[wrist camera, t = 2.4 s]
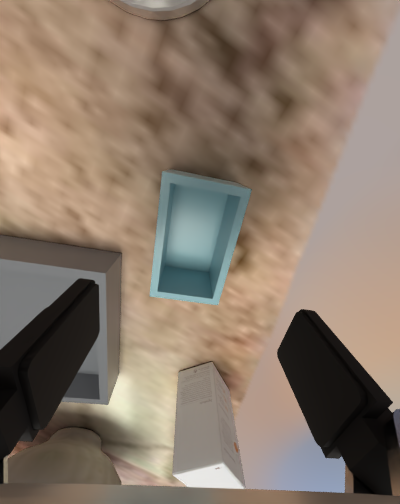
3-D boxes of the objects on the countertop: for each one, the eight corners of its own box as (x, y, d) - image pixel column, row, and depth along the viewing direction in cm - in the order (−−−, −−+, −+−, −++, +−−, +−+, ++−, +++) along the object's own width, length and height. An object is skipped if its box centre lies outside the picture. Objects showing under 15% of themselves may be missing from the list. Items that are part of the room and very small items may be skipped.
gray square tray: (-99, 219, 18) (-174, 234, 14) (121, 253, 20) (105, 273, 16) (-32, 360, 26) (-69, 392, 22) (118, 373, 28) (107, 404, 25)
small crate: (170, 168, 17) (162, 171, 12) (236, 182, 17) (251, 189, 13) (159, 267, 21) (149, 296, 16) (212, 275, 21) (217, 305, 17)
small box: (177, 370, 28) (170, 475, 19) (213, 359, 28) (223, 463, 18) (198, 398, 32) (200, 500, 22) (230, 389, 31) (246, 491, 21)
